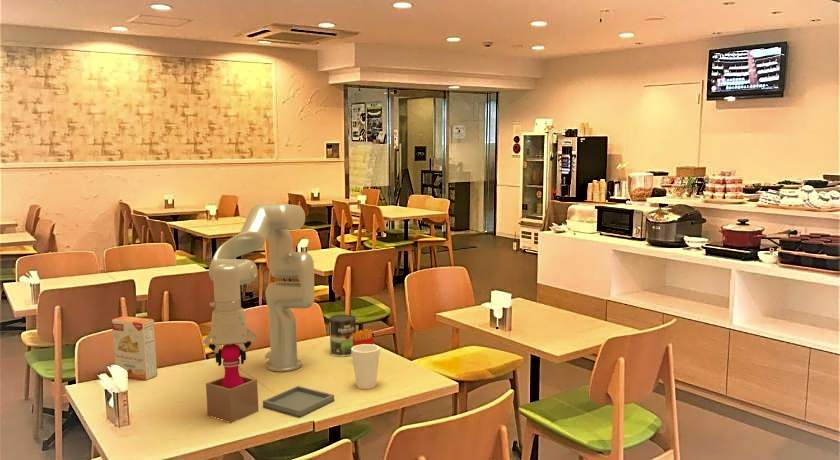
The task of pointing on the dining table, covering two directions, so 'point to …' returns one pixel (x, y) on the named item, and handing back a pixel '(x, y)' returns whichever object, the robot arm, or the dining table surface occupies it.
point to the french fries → (362, 337)
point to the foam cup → (365, 364)
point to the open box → (232, 399)
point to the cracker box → (135, 346)
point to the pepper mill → (231, 365)
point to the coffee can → (342, 334)
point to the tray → (298, 401)
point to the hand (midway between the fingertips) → (231, 363)
